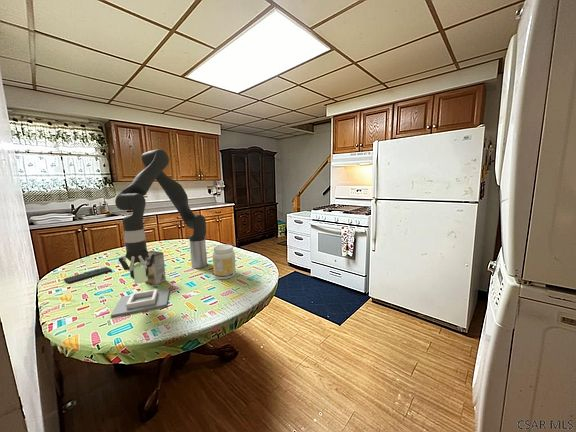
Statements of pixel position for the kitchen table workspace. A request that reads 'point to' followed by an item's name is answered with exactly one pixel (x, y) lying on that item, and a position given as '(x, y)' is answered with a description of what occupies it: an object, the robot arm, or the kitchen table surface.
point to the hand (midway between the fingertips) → (140, 277)
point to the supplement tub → (224, 262)
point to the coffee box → (156, 268)
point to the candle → (139, 273)
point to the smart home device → (87, 275)
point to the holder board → (141, 302)
